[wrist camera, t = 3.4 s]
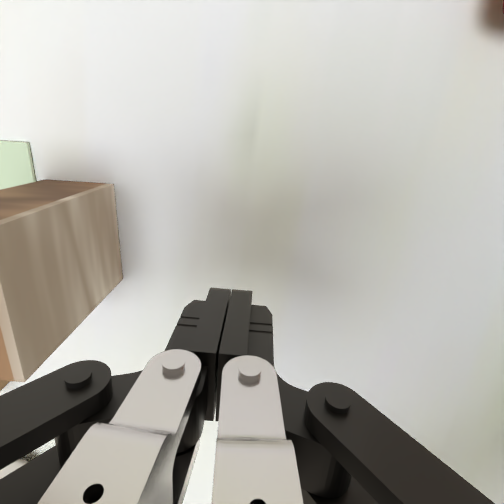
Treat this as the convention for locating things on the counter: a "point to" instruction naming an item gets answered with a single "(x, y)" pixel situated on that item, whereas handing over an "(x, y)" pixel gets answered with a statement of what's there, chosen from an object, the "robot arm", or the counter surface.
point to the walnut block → (52, 266)
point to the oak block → (3, 384)
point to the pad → (15, 164)
